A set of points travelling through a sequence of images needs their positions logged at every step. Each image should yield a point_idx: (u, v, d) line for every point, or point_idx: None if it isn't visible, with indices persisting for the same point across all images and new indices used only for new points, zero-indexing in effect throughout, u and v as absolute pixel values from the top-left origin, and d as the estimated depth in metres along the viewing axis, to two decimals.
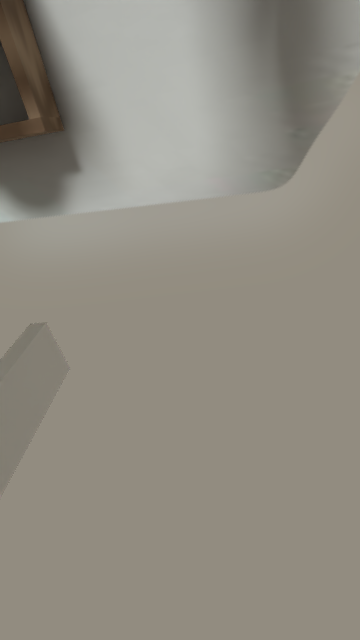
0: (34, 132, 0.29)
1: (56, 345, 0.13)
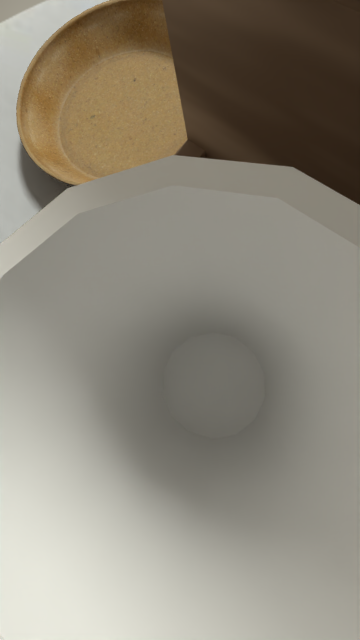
0: None
1: None
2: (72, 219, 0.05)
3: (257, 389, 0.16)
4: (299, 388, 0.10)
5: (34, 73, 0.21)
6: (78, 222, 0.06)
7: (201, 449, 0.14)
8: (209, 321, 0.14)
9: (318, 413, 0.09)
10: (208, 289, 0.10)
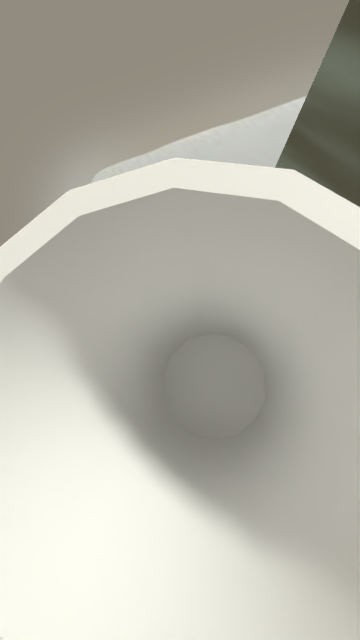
0: None
1: None
2: (73, 221, 0.05)
3: (258, 389, 0.16)
4: (300, 389, 0.10)
5: None
6: (79, 224, 0.06)
7: (202, 450, 0.14)
8: (209, 322, 0.14)
9: (319, 415, 0.09)
10: (209, 290, 0.10)
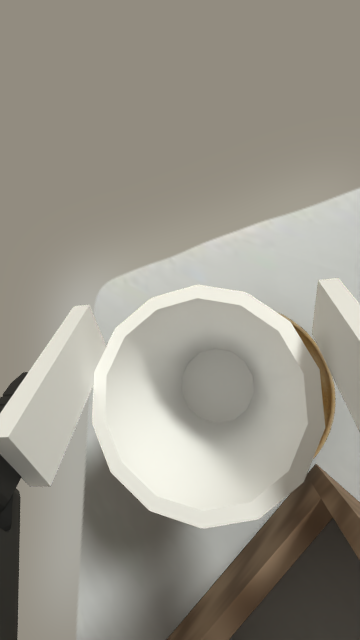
0: None
1: (97, 327, 0.13)
2: (154, 311, 0.13)
3: (248, 387, 0.23)
4: (268, 384, 0.17)
5: None
6: (156, 312, 0.13)
7: (211, 428, 0.21)
8: (213, 342, 0.22)
9: (275, 397, 0.16)
10: (212, 328, 0.17)
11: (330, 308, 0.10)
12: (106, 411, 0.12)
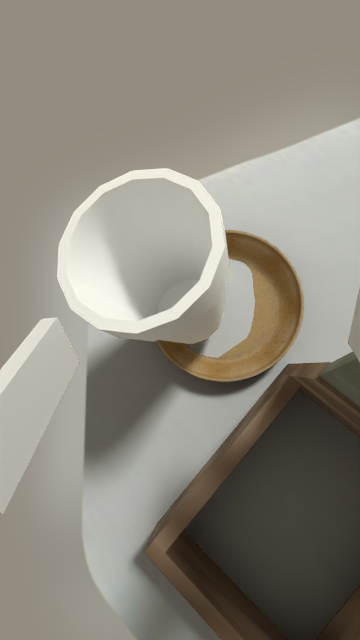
0: None
1: (66, 340, 0.13)
2: (102, 195, 0.16)
3: None
4: None
5: None
6: (103, 196, 0.17)
7: None
8: (178, 265, 0.25)
9: None
10: (165, 233, 0.21)
11: None
12: (68, 270, 0.16)
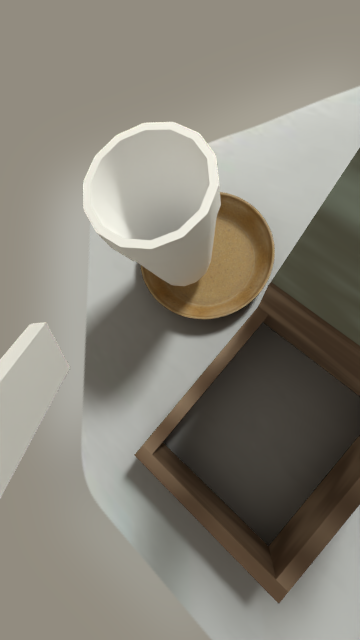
0: (267, 590, 0.23)
1: (56, 345, 0.13)
2: (118, 142, 0.20)
3: None
4: None
5: None
6: (120, 143, 0.20)
7: None
8: (174, 216, 0.29)
9: None
10: (166, 183, 0.25)
11: None
12: (92, 203, 0.20)
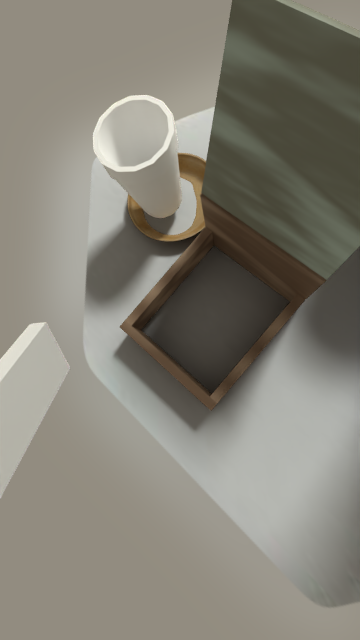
0: (204, 403, 0.36)
1: (56, 345, 0.13)
2: (114, 108, 0.32)
3: None
4: None
5: None
6: (115, 109, 0.33)
7: None
8: None
9: None
10: (146, 138, 0.37)
11: None
12: (98, 147, 0.32)
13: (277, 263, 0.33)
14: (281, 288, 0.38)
